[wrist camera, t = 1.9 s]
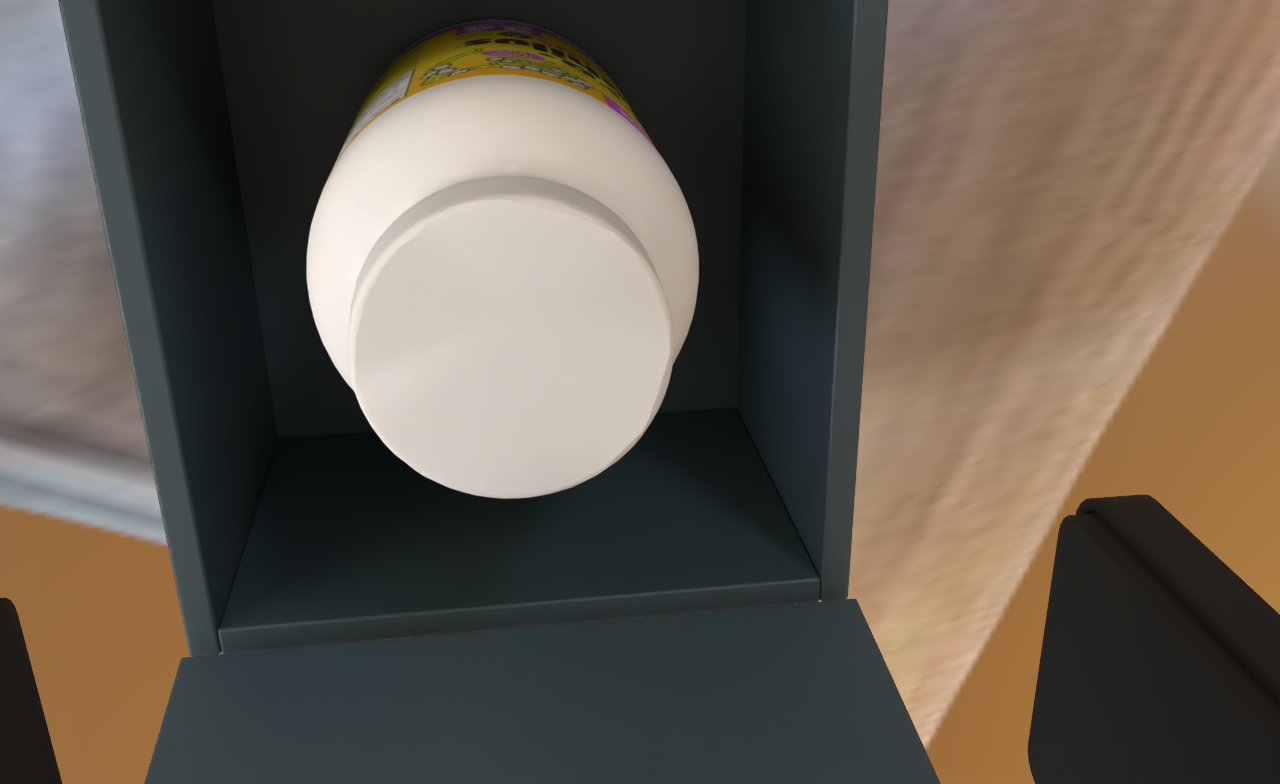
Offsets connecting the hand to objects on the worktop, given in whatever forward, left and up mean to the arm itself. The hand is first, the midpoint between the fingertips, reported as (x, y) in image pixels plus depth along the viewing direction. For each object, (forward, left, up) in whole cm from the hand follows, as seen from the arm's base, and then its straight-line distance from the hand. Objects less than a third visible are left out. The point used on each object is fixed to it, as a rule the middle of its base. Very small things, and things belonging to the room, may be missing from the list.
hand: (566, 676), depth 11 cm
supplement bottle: (0, 0, -20) cm, 20 cm away
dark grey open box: (0, 0, -21) cm, 21 cm away
